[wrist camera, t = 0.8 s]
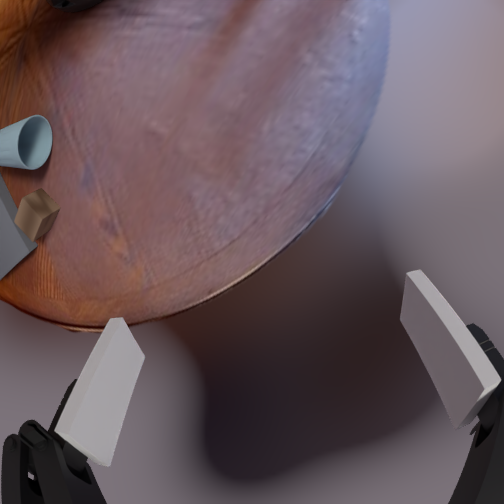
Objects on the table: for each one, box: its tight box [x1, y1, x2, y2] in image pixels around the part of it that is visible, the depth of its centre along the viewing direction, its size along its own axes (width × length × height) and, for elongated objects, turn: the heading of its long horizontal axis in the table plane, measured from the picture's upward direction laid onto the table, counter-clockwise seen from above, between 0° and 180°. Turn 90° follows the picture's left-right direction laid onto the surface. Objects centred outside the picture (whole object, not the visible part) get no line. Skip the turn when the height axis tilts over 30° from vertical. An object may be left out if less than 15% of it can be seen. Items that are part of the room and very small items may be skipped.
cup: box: [0, 115, 52, 170], centre depth 28 cm, size 8×8×10 cm
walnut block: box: [14, 188, 60, 242], centre depth 34 cm, size 5×5×5 cm
